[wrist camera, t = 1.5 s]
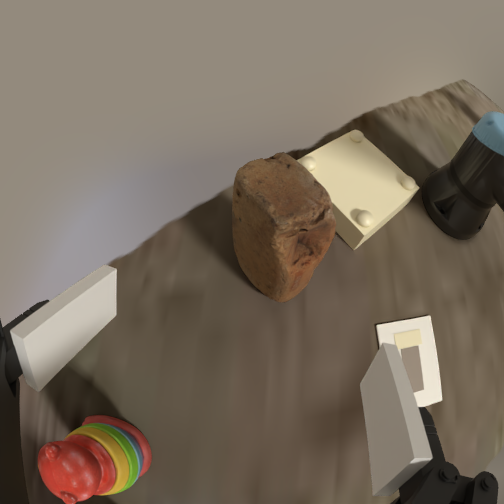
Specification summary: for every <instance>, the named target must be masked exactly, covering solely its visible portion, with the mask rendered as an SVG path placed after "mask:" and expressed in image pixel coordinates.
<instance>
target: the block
mask: <svg viewBox="0 0 504 504" xmlns="http://www.w3.org/2000/svg"><path fill="white" fill-rule="evenodd" d="M335 227H336V220H335V217H334V214H333V206H332V201H331V198H330V195H329V193H328V192H327V190H326V189H325V188H324V187H323V186H322V185H321V184H320V183H319V182H318V181H317V180H316V179H315V177H314V176H313V174H311V173H310V172H309V171H308V170H307V169H306V168H305V167H304V166H303V165H302V164H300V163H299V162H298V161H296V160H295V159H294V158H292V157H291V156H289V155H288V154H286V153H284V152H282V153H277V154H275V155H274V156H272V157H270V158H267V159H262V158H261V159H257V160H254V161H251V162H248V163H247V164H245V165H244V166H243V167H241V168H240V169H239V170H238V171H237V174H236V177H235V181H234V190H233V204H232V229H233V243H234V250H235V253H236V256H237V258H238V262H239V265H240V267H241V269H242V270H243V272H244V273H245V275H246V276H247V278H248V279H249V280H250V282H251V283H252V284H253V285H254V286H255V287H256V288H257V289H259V290H260V291H261V292H262V293H263V294H264V295H266V296H267V297H269V298H270V299H274V300H275V301H277V302H287V301H289V300H291V299H292V298H294V297H295V296H296V295H297V294H299V293H300V292H301V291H302V290H303V289H304V288H305V287H306V285H307V284H308V282H309V280H310V278H311V277H312V275H313V272H314V269H315V268H316V267H317V266H318V265H319V263H320V262H321V260H322V259H323V257H324V254H325V253H326V252H327V250H328V248H329V246H330V243H331V242H332V240H333V237H334V235H335Z"/></svg>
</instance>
